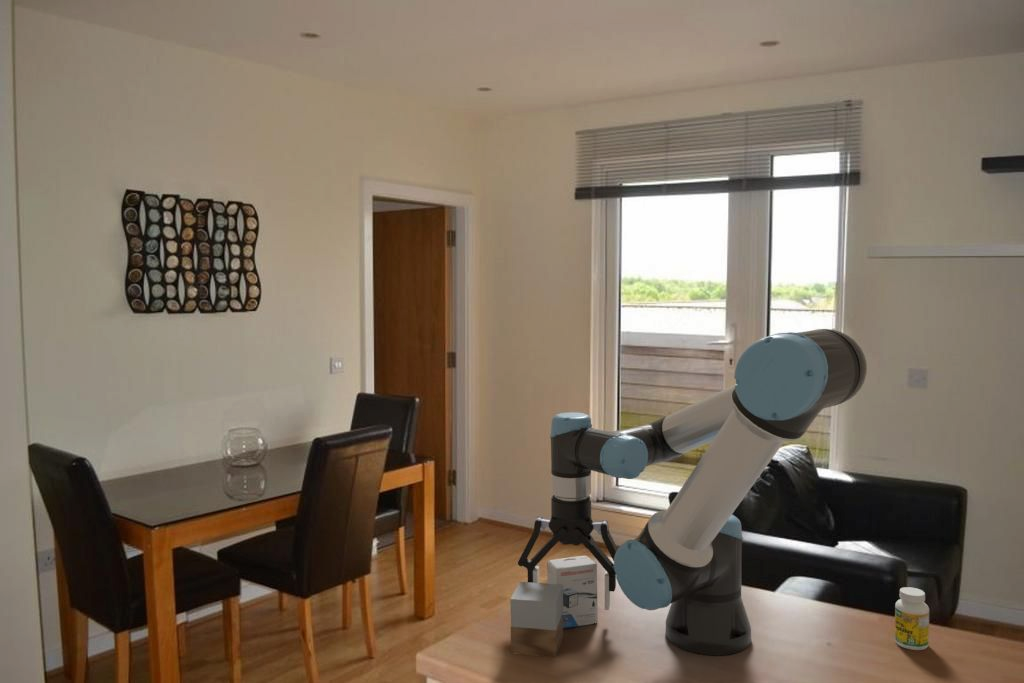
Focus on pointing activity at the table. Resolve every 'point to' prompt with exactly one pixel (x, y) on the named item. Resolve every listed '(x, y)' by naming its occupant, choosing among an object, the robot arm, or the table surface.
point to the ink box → (576, 589)
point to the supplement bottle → (912, 619)
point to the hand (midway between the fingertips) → (571, 604)
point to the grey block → (537, 605)
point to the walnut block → (536, 640)
